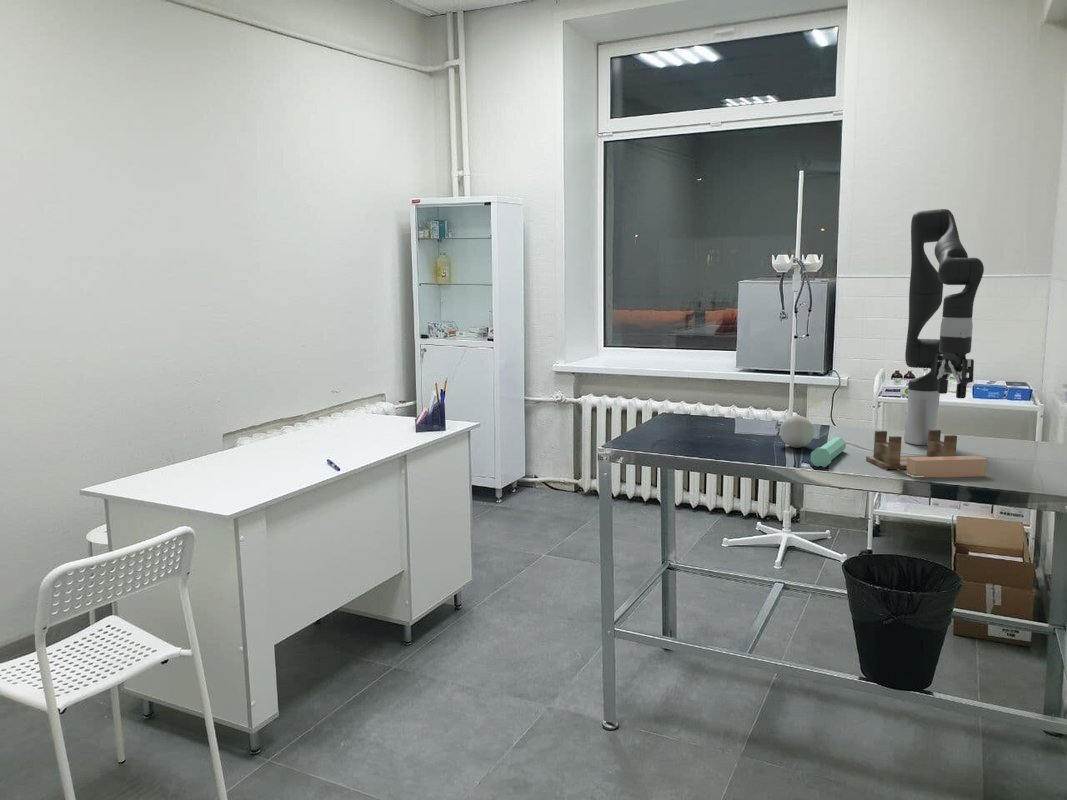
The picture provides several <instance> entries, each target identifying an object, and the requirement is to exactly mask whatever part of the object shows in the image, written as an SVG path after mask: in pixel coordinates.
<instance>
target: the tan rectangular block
mask: <svg viewBox="0 0 1067 800" xmlns="http://www.w3.org/2000/svg"><path fill="white" fill-rule="evenodd" d="M987 460H988V459H987V458H985V457H982V456H980V455H956V456H946V457H907V470H905V471H906V472H905V473H908V474H910V475H913V476H924V477H936V478H963V477H966V478H971V477H972V478H973V477H986V475H987Z"/></svg>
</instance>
